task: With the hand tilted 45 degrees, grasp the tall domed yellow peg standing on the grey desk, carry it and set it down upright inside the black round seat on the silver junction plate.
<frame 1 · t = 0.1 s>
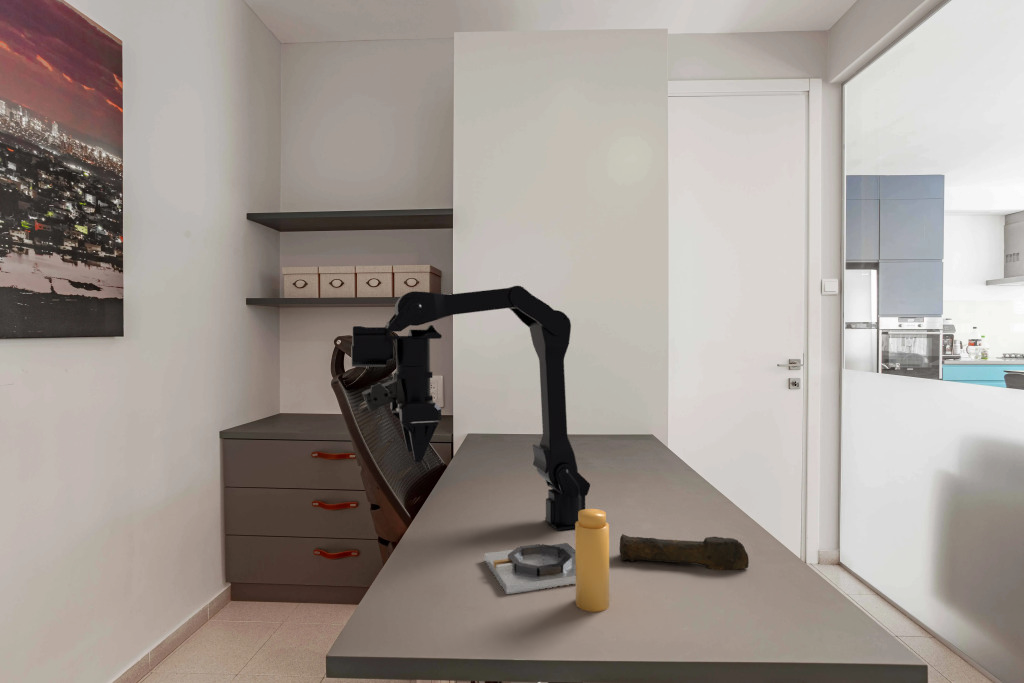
hand: (414, 456, 97), 15 cm above the table, tool pointing down, fingers open, 9 cm apart
junction plate: (539, 570, 85), on the table
domed yellow peg: (592, 603, 75), on the table
hand tool: (681, 564, 88), on the table
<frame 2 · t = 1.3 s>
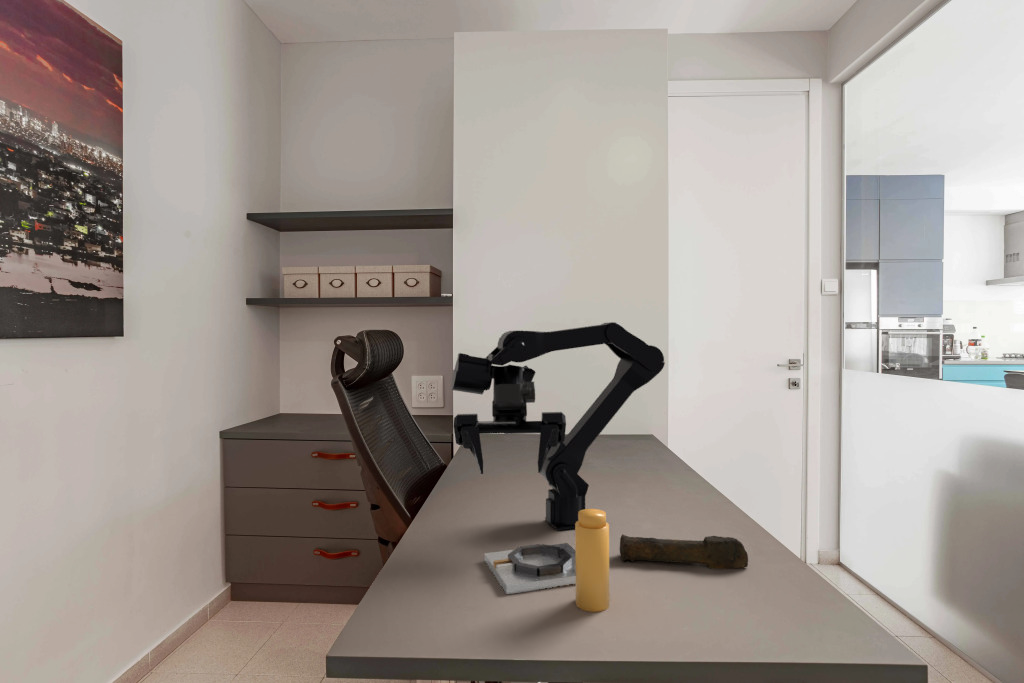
hand: (510, 472, 91), 13 cm above the table, tool tilted 45°, fingers open, 9 cm apart
nothing on the table moved.
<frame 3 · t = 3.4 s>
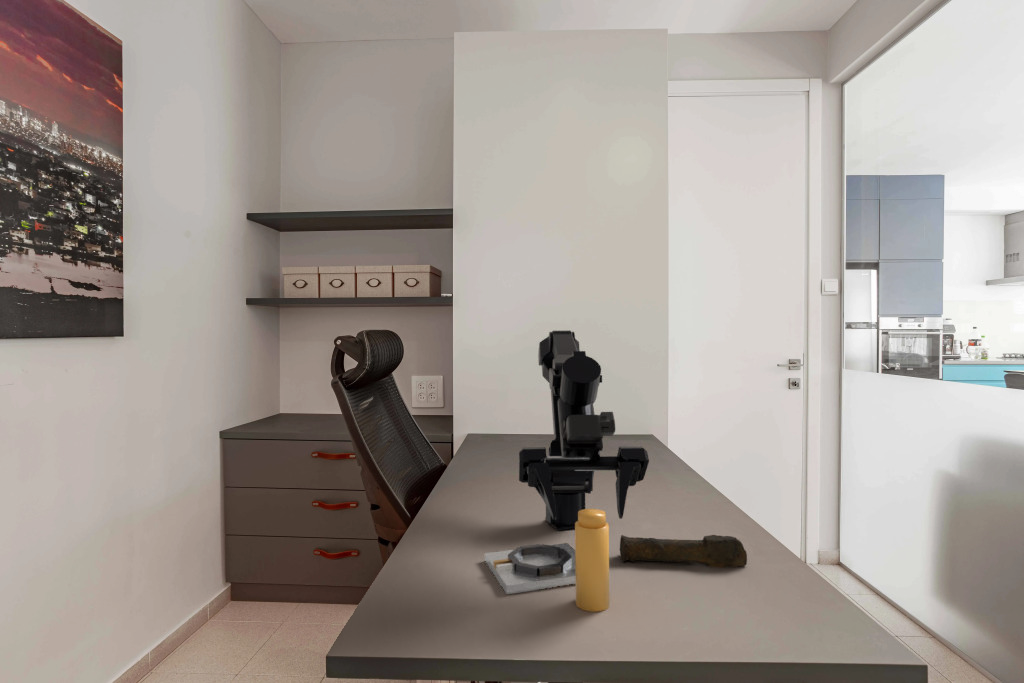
hand: (587, 517, 78), 10 cm above the table, tool tilted 45°, fingers open, 9 cm apart
nothing on the table moved.
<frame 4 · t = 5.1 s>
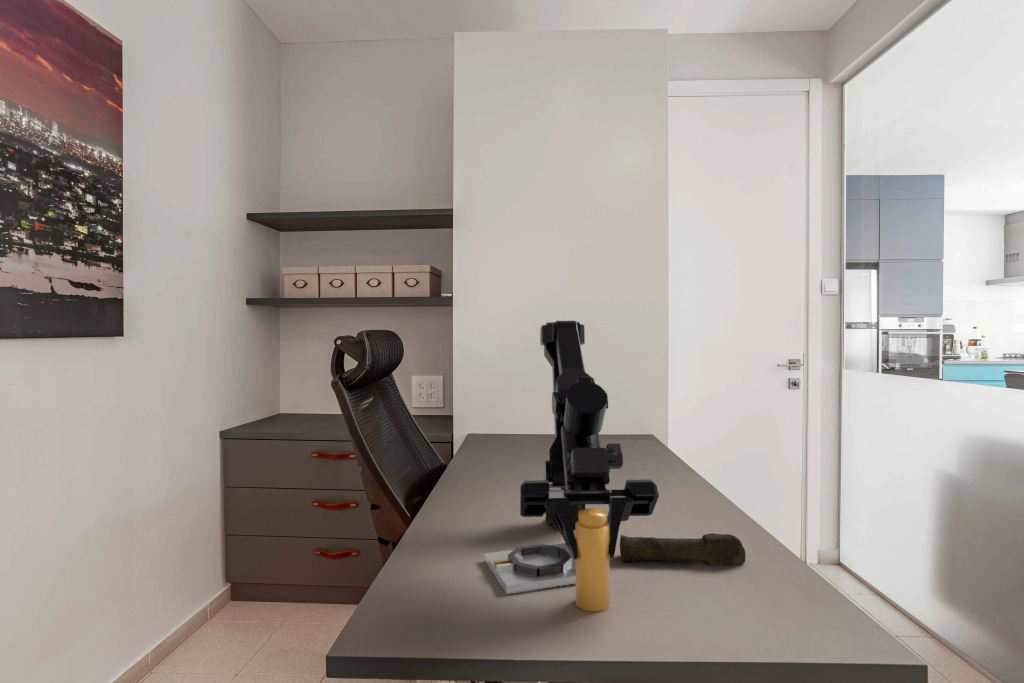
hand: (593, 558, 73), 7 cm above the table, tool tilted 45°, fingers closed on domed yellow peg, 4 cm apart
domed yellow peg: (592, 603, 75), on the table, touching gripper
everything else where it was.
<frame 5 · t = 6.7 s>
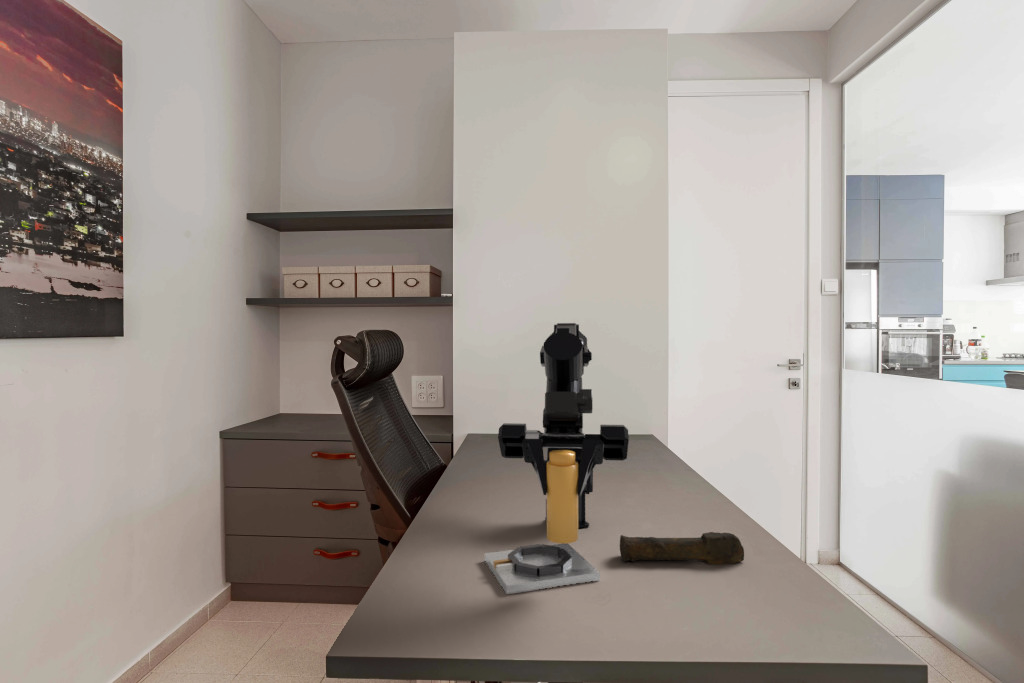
hand: (561, 494, 78), 14 cm above the table, tool tilted 45°, fingers closed on domed yellow peg, 4 cm apart
domed yellow peg: (562, 537, 80), point 7 cm above the table, touching gripper
when the fingers open (9 cm above the table, at t = 8.5 s): domed yellow peg drops 1 cm, resting on junction plate.
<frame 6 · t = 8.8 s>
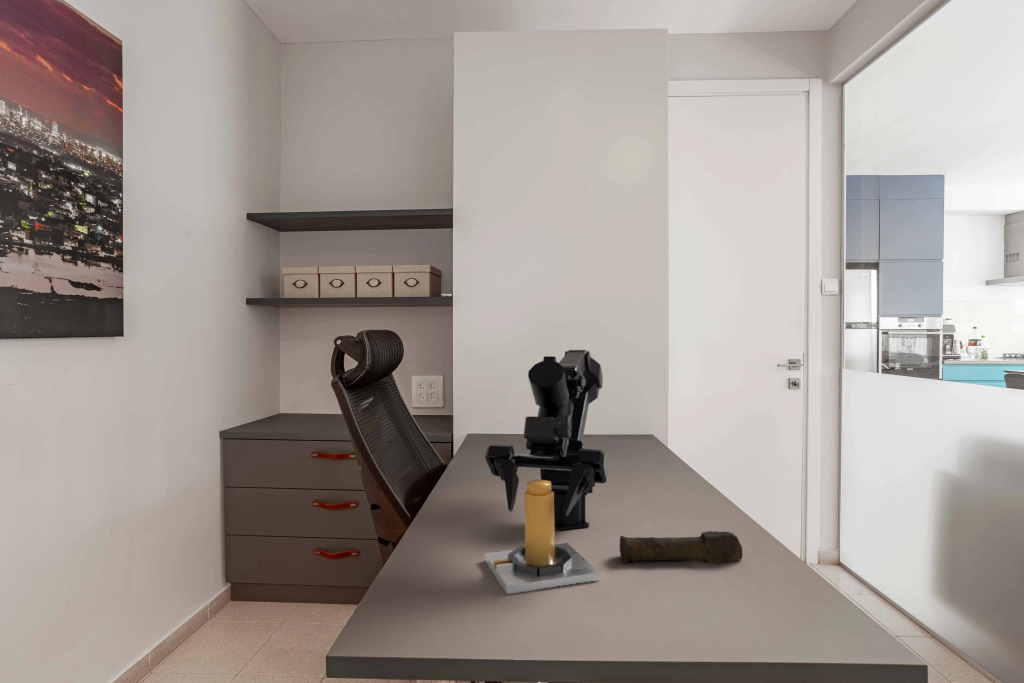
hand: (537, 512, 84), 9 cm above the table, tool tilted 45°, fingers open, 8 cm apart
domed yellow peg: (540, 562, 85), point 1 cm above the table, touching junction plate
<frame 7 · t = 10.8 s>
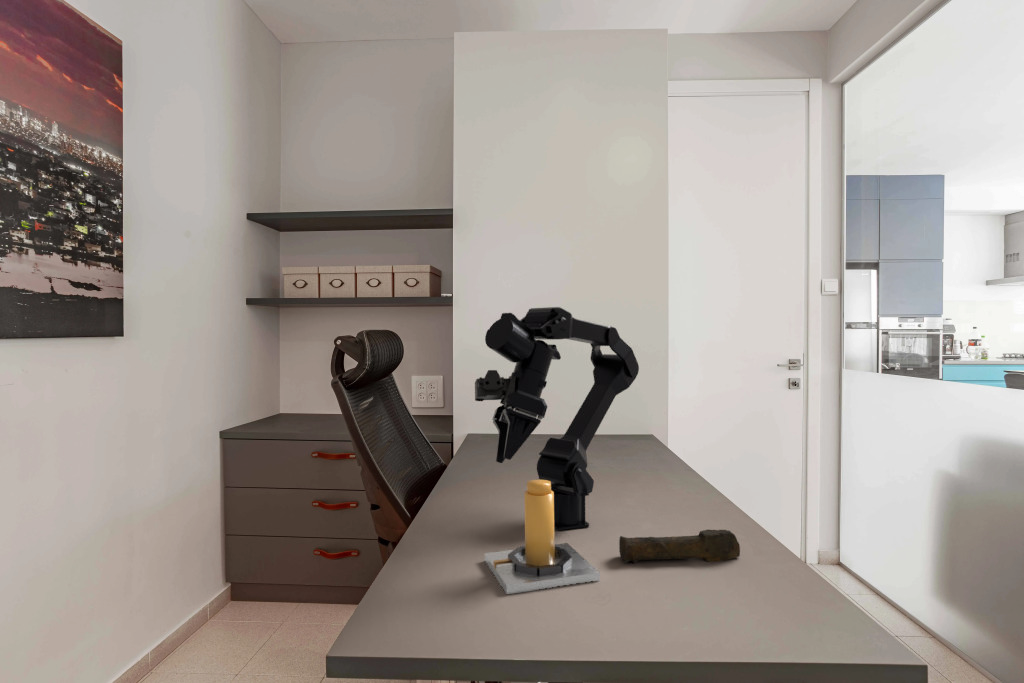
hand: (502, 460, 94), 15 cm above the table, tool tilted 25°, fingers open, 9 cm apart
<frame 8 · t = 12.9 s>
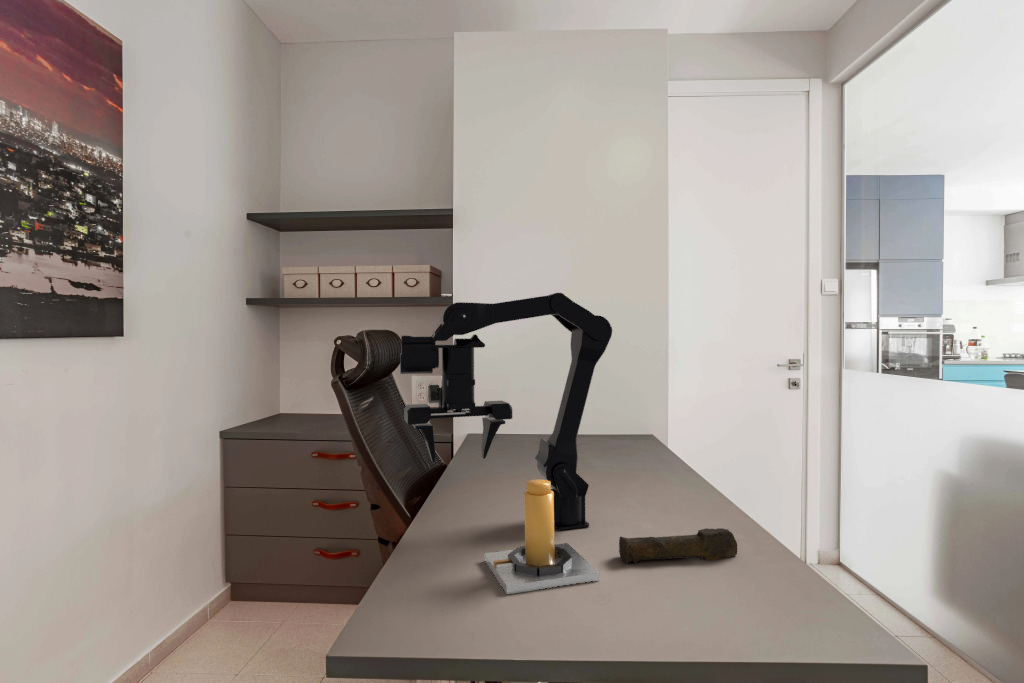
hand: (458, 460, 102), 13 cm above the table, tool pointing down, fingers open, 9 cm apart
at the end: domed yellow peg 0.1 cm off-centre on the junction plate, point 1.2 cm above the junction plate's base; domed yellow peg tilted 1°; the gripper is holding nothing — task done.
